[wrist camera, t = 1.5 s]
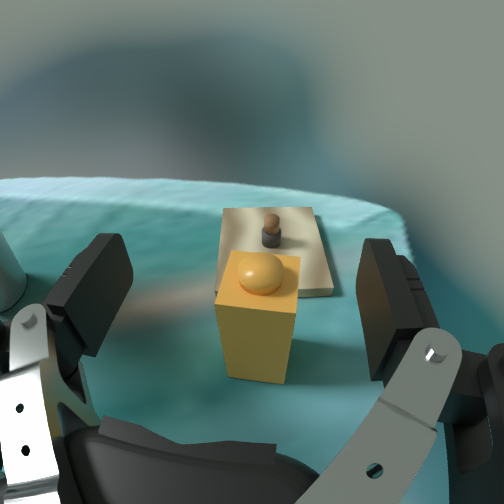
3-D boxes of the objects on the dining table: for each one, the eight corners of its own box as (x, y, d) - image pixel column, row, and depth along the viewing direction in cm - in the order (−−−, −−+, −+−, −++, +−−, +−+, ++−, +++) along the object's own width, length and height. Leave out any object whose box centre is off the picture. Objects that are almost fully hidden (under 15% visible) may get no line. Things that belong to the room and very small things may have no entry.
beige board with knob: (216, 298, 37) (211, 266, 33) (224, 216, 49) (221, 186, 46) (331, 295, 37) (339, 263, 33) (310, 214, 49) (314, 185, 45)
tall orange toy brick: (283, 384, 28) (297, 302, 19) (228, 376, 29) (212, 292, 20) (289, 337, 32) (301, 245, 23) (238, 331, 33) (230, 238, 24)
